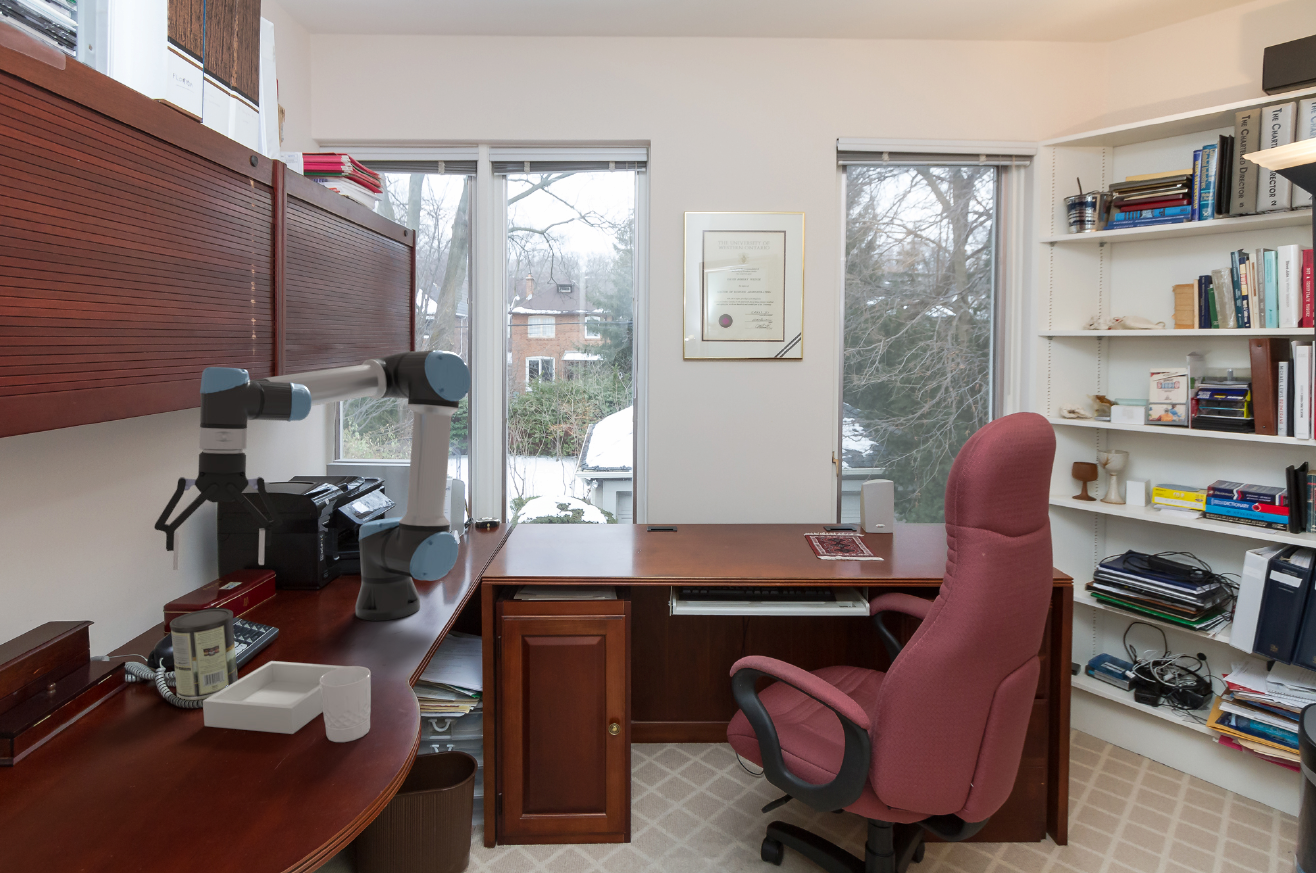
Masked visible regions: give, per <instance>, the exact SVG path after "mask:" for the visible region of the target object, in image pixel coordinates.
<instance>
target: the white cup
mask: <svg viewBox="0 0 1316 873" xmlns="http://www.w3.org/2000/svg"><path fill="white" fill-rule="evenodd" d="M371 676H372V675H371V670H370V668H368V667H365V666H361V665H360V666H359V665H350V666H348V667H342V668H338V669H335V670H332V671H329V672H327V673H325V674H324V675H323V676H321V678H320V680H319V682H320V690H321V699H322V708H323V712H322V713H323V721H324V724H325V734H326V737H327V739H328V741H331V742H334V743H346V742H352V741H355V740H358V739H360V738H362V737H364V736H365V735H366V734H368V733H369V731H370V729H371V709H372V708H371V702H372V701H371V700H372V698H371V697H372V696H371V694H372V692H371V691H372V690H371V688H372V687H371V685H372V684H371V683H372V682H371V681H372V680H371V679H372V678H371Z"/></svg>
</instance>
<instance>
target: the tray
mask: <svg viewBox="0 0 1316 873" xmlns="http://www.w3.org/2000/svg"><path fill="white" fill-rule="evenodd" d="M342 667H349V666H348V665H346V666H345V665H331V664H319V663H305V662H304V663H303V662H292V661H291V662H288V661H278V660H277V661H275V660H271V661H268V662H267V663H265V664H264V665H262V666H260V667H258V668H256V669H255V670H253V671H251V672H250V673H248V674H246V675H245V676H243V677H241V678H238V681H236V682H234V683H233V684H231V685H229V686H228V687H226V688H224V689H222V690H221V691H219V692H217V693H216V694H214V695H212V696H210V697H209V698H207V699H203V700H202V708H203V710H202V711H203V722H204V727H213V728H223V729H233V730H235V729H236V730H247V731H257V732H268V733H280V734H288V735H289V734H290V735H293V734H295V733H297V732H298V731H299V730H301V729H302V728H304V726H305V725H307V724H308V723H309V722H311V721H312V720H313V719H315V718H316V717H318V716H319V715H320V714H321V713H323V708H322V699H321V690H320V682H319V680H320V678H321V676H323V675H324V674H325V673H327V672H329V671H332V670H335V669H338V668H342Z"/></svg>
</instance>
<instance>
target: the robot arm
mask: <svg viewBox="0 0 1316 873" xmlns="http://www.w3.org/2000/svg"><path fill="white" fill-rule="evenodd" d="M201 374H202V375H201V379H200V380H201V381H200V382H201V383H200V390H199V393H200V416H199V418H200V419H199V422H200V423H199V438H198V439H199V442H198V443H199V446H198V447H199V449H200V450H202V451H201V452H200V453H199V454H198V473H197V474H198V475H197V477H196V479H193V478H185V477H184V476H180V477H179V478H178V480H177V486H176V490H175V491H174V493H173V495H172V497H171V498H170V499H169V501H168V503H167V504H166V505H165V507H164V509H163V511H162V512H161V514H160V516H159V517H158V519H157V521H156V522H155V523H154V529H155V530H156V531H161V532H163V533H164V534H166V540H165V541H166V542H165V544H166V545H165V550H166V551H167V552H173V556H172V557H173V558H172V559H173V560H172V563H173V564H172V565H173V566H172V571H178V570H179V559H180V558H179V557H180V531H179V530H178V531H176V530H177V529H179V527H180V526H181V525H182V524H183V523H184V522H186V520H188V519H189V518H190V516H192V515H193V513H195V512H196V510H198V508H199V507H201V506H202V505H203V504H204V503H205V502H206V501H208V502H211V503H221V502H224V503H232V502H234V501H236V500H237V501H238V502H239V503H240V504H241V505H242V507H244V508H245V509H246V510H247V511H248V513H250V514H251V515H252V516H253V518H255V520H256V521H257V522H259V523H260V525H261V526H262V528H259V530H258V531H259V532H258V535H259V536H258V565H259V566H264V565H265V547H270V546H271V544H272V532H273V531H272V530H273V529H274V528H276V527H280V526H282V525H283V520H282V517H280V515H279V513H278V511H277V509H276V507H275V505H274V503H273V501H272V500H271V497H270V495H269V494H268V492H267V490H266V484H265V479H264V477H262V476H258V477H256V478H255V477H253V478H247V476H246V475H247V474H246V471H247V455H246V452H244V451H245V450H246V449H247V442H248V441H247V437H248V436H247V435H248V434H247V433H248V420H249V421H251V420H252V421H253V420H259V421H279V422H280V421H282V422H283V421H284V422H285V421H286V422H291V421H294V422H295V421H296V422H297V421H303V420H305V419H306V418H307V417H308V416H309V414H310V412H311V409H312V407H314V406H319V405H320V406H321V405H325V404H331V403H338V402H344V401H348V400H356V399H361V398H365V397H367V398H368V397H369V398H370V399H373V400H380V399H386V398H387V399H389V398H393V399H406V400H407V399H408V400H407V406H408V408H409V409H410V410H411V411H412V412H413V423H412V435H411V451H410V461H409V462H410V463H409V476H408V478H409V479H408V489H407V490H408V491H407V504H406V505H407V506H406V513H405V515H404V516H399V517H396V516H395V517H389V518H388V517H386V518H383V519H381V518H380V519H376V520H371V521H368V522H365V523H363V524H361V526H360V527H359V531H358V532H359V533H358V534H359V535H358V542H359V557H360V558H359V559H360V572H361V573H360V576H361V585H360V588H359V589H360V590H359V593H358V596H357V598H356V603H355V616H356V617H357V618H359V619H361V620H365V621H372V622H373V621H377V622H378V621H379V622H380V621H391V620H395V619H400V618H405V617H407V616H410V615H413V614H414V613H416V612H418V611H419V610H420V608H421V599H420V595H419V592H418V591H417V588H416V586H415V585H416V584H415V583H414V581H413V579H415V580H419V581H429V582H432V581H437V580H440V579H442V578H444V577H445V576H447V575H448V574H449V571H451V570H452V569H453V568H454V566H455V565H456V563H457V559H458V556H459V544H458V541H457V540H456V538H455V536H454V535H453V534H452V533H451V532H450V528H451V522H450V521H449V519H448V518H447V517H446V516H445V508H446V497H447V496H446V494H447V481H448V467H449V466H448V465H449V456H450V455H449V454H450V439H451V427H452V426H451V425H452V416H453V415H454V414H455V413H456V412H457V411H459V408H460V407H459V405H460V401H461V400H463V399H464V398H465V397H466V395H467V394H468V393H469V391H470V388H471V383H472V380H471V378H472V377H471V372H470V369H469V367H468V364H467V363H466V362H465V361H464V359H463V358H462V357H461V356H460V355H458V354H457V353H455V352H452V351H446V350H437V349H436V350H422V351H419V350H418V351H415V350H414V351H410V350H409V351H404V352H399V353H396V354H395V353H394V354H390V355H387V356H383V357H376V358H370V359H366V360H364V361H363V362H362V364H359V365H352V366H351V365H350V366H343V367H336V368H329V369H328V368H327V369H321V370H313V371H307V372H299V373H293V374H286V375H285V374H284V375H277V376H269V377H264V378H257V379H256V378H255V379H250V375H249V372H248V370H247V369H244V368H235V367H224V366H223V367H220V366H209V367H206V368H204V369H203V370H202V373H201ZM193 486H195V487H196V489H197V490H198V491H199V493H200V494H198V495H197V496H196V498H194V500H192V502H191V503H190V504H189V505H187V507H186V508H184V509H183V511H182V512H180V513H179V514H178V515H177V516H176V517H175V518H174V519H173V521H171V523H169V524H168V523H166V522H167V521H168V519H169V518H170V516H171V515H172V513H173V511H174V510H175V508H176V507H177V504H178V503H179V502H180V500H181V499H182V497H183V495H184V492H185V491H189V490H190V489H191V487H193ZM248 486H251V487H252V489H253V490H256V491H257V492H258V494H259V496H260V498H261V500H262V502H263V503H264V506H265V507H266V509H267V511H268V513H269V515H270V517H271V518H272V520H268V519H267V518H266V516H264V515H263V513H262V512H261V511H260V510H259V509H258V508H257V507H256V506H255V505H254V504H253V503H252V502H251V501H250V500H249V499H248V498H247V497H246V496H245V495H244V493H243V492H244V491H245V490H246V489H247V487H248Z"/></svg>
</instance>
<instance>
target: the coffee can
mask: <svg viewBox="0 0 1316 873" xmlns="http://www.w3.org/2000/svg"><path fill="white" fill-rule="evenodd" d="M233 617H234V612H233V610H230V609H226V608H209V609H203V610H202V609H201V610H196V611H192V612H189V613H185V614H182V615H180V616H177V617H175V618H173V619H172V620H171V621H170V622H169V627H170V632H171V641H172V645H171V646H172V654H173V663H174V664H173V665H174V676H175V686H176V687H175V688H176V696H177V698H178V697H179V698H178V699H180V698H181V700H184V699H185V700H184V701H199V700H205V699H207V698H209V697H210V696H212V695H214V694H216V693H217V692H219V691H221V690H222V689H224V688H225V686H226V685H231V684H233V683H234V682H236V681H238V680H239V678H238V669H237V668H238V667H237V658H236V657H237V656H236V646H235V644H236V643H235V632H234V631H235V630H234V620H233V619H234V618H233Z"/></svg>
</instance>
